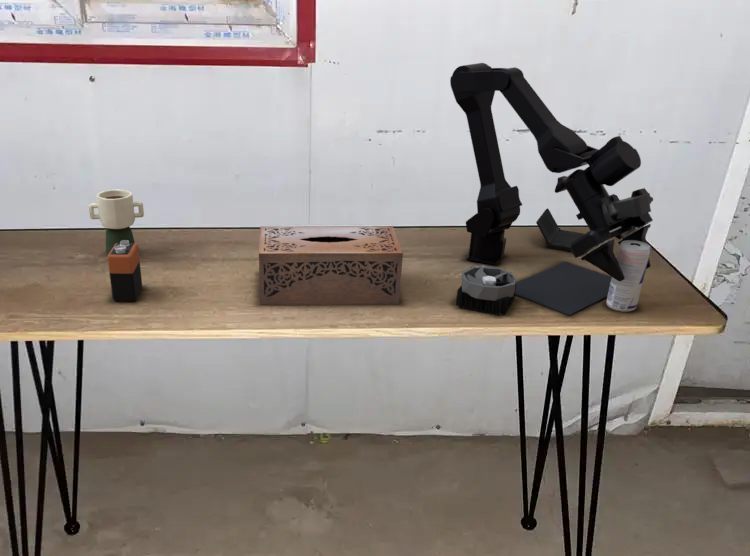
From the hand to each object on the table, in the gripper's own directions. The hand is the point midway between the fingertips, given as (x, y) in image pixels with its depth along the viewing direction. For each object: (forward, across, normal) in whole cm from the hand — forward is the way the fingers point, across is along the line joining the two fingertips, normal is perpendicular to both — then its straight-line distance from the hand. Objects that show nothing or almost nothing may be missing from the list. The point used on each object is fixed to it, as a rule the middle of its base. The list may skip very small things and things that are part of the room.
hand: (635, 274), depth 139 cm
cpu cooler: (-8, -18, +18) cm, 27 cm away
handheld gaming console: (-15, +21, +25) cm, 36 cm away
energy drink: (+4, 0, +6) cm, 7 cm away
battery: (-41, -67, +50) cm, 93 cm away
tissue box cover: (-25, -36, +35) cm, 56 cm away
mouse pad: (-4, 0, +14) cm, 14 cm away
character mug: (-54, -58, +64) cm, 102 cm away
